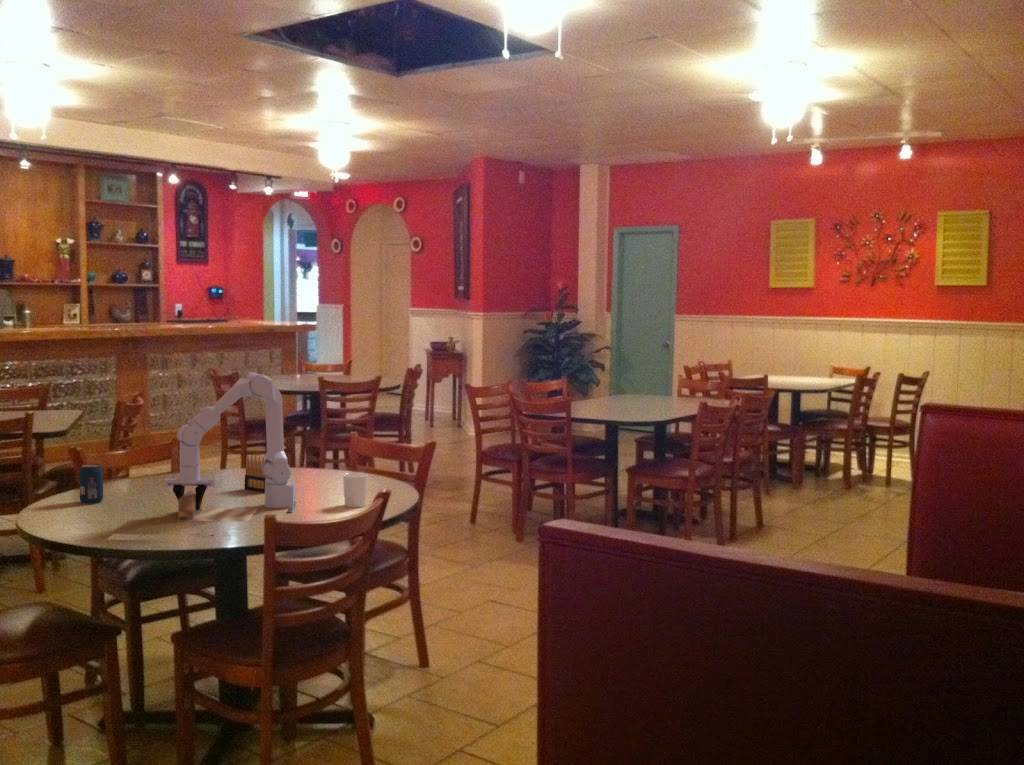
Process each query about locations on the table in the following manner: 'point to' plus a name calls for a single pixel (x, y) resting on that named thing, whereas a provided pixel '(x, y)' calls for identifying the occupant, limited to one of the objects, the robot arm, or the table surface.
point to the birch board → (224, 515)
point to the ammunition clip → (254, 474)
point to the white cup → (355, 489)
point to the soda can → (91, 483)
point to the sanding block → (188, 505)
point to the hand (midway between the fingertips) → (190, 509)
